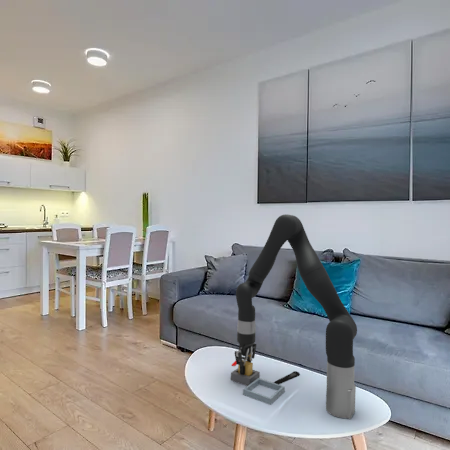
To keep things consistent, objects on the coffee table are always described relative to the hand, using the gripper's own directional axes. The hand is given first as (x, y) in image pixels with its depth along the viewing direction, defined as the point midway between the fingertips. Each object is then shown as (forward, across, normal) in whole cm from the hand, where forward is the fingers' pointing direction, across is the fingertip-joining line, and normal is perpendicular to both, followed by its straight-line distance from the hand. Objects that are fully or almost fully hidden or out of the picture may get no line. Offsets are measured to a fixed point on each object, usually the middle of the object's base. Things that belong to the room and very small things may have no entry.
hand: (245, 371), depth 138 cm
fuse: (+3, 0, 0) cm, 3 cm away
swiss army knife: (+5, +13, +12) cm, 19 cm away
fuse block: (+5, 0, 0) cm, 5 cm away
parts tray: (+5, -5, -12) cm, 13 cm away
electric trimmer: (+5, +12, -14) cm, 19 cm away
